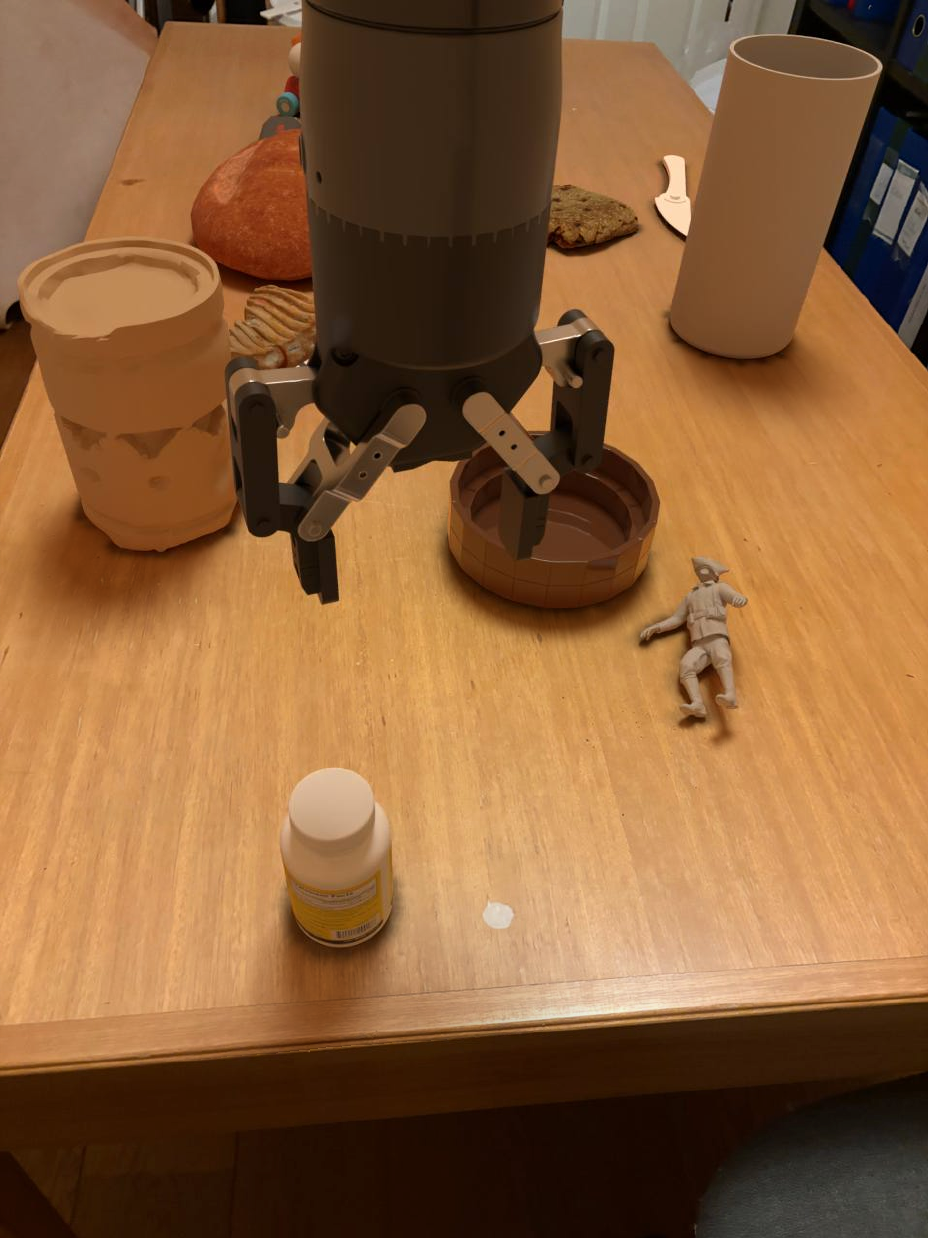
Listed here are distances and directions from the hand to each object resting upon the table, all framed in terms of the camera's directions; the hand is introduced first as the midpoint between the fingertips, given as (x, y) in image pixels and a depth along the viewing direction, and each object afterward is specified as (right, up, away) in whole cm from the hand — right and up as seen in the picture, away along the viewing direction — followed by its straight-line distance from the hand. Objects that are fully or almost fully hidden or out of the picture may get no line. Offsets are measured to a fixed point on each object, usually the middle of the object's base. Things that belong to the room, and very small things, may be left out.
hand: (422, 569), depth 40 cm
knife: (+28, +51, +79) cm, 98 cm away
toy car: (-20, +71, +95) cm, 120 cm away
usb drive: (-22, +60, +84) cm, 106 cm away
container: (-21, +7, +33) cm, 40 cm away
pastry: (+14, +45, +72) cm, 86 cm away
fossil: (-15, +21, +47) cm, 53 cm away
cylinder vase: (+29, +27, +56) cm, 69 cm away
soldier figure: (+18, -5, +24) cm, 30 cm away
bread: (-17, +43, +68) cm, 82 cm away
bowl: (+8, +4, +31) cm, 33 cm away
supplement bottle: (-5, -17, +10) cm, 21 cm away
